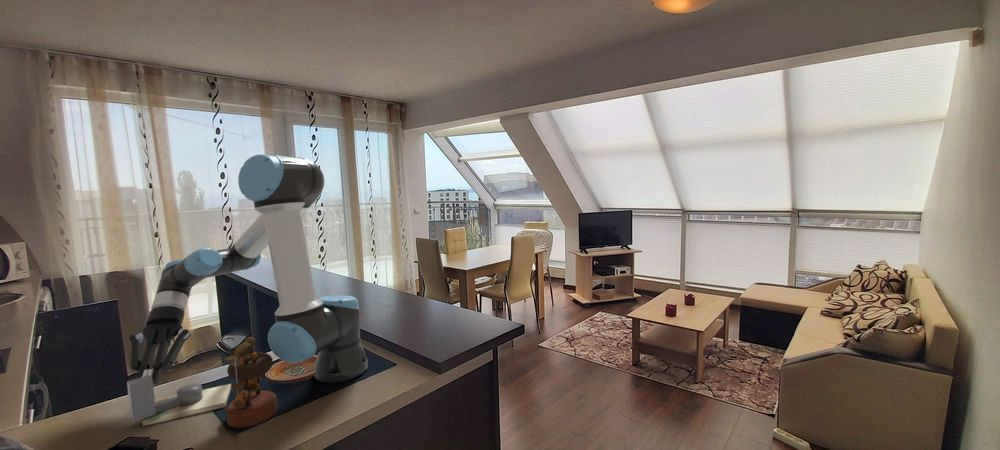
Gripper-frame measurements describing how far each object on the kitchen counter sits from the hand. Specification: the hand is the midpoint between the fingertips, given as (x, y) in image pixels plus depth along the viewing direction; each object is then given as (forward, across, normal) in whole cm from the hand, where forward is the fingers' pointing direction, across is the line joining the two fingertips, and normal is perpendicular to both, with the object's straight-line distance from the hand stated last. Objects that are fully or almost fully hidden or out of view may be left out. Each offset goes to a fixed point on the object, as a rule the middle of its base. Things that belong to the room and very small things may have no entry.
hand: (142, 397), depth 93 cm
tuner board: (+2, -9, -5) cm, 10 cm away
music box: (+9, -25, +2) cm, 27 cm away
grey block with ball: (+3, -5, -2) cm, 6 cm away
